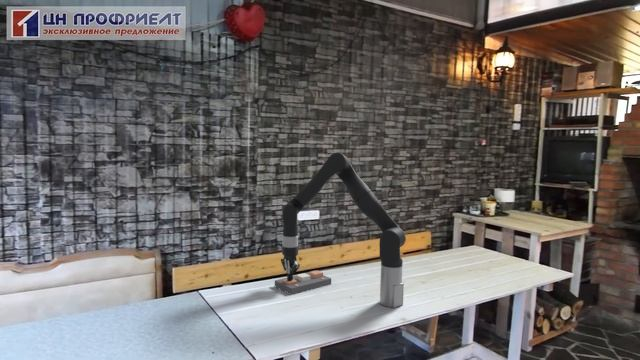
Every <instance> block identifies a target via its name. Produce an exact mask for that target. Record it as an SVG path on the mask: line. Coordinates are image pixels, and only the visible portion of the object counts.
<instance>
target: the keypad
mask: <svg viewBox="0 0 640 360" xmlns="http://www.w3.org/2000/svg"><path fill="white" fill-rule="evenodd" d="M304 273H305V274H308V275H309V272H304ZM286 279H287V277H284V278H280V279H275V280H274V287H275V286H276V287H275V288H277V287H278V288H277V289H279V288H280V289H279V290H281V289H282V290H281V291H283V290H284V291H283V292H285V291H286V292H285V293H287V292H288V293H287V294H289V293H290V294H289V295H291V296H293V295H296V293H297V294H300V293H304V292H308V291H311V289H312V290H314V289H318V288H319V289H320V288H322V287H327V286H330V285H332V278H331V277H329V276H326V275H324V274H323V277H321V278H317V279H314V278H312V277H311V280H308V281H304V282H301V281H299V280H296V275H293V279H294V280H296V281H297V283H296V284H292V285H287V284H284V283H283V280H286ZM307 290H308V291H307ZM303 291H304V292H303ZM292 294H293V295H292Z"/></svg>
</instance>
